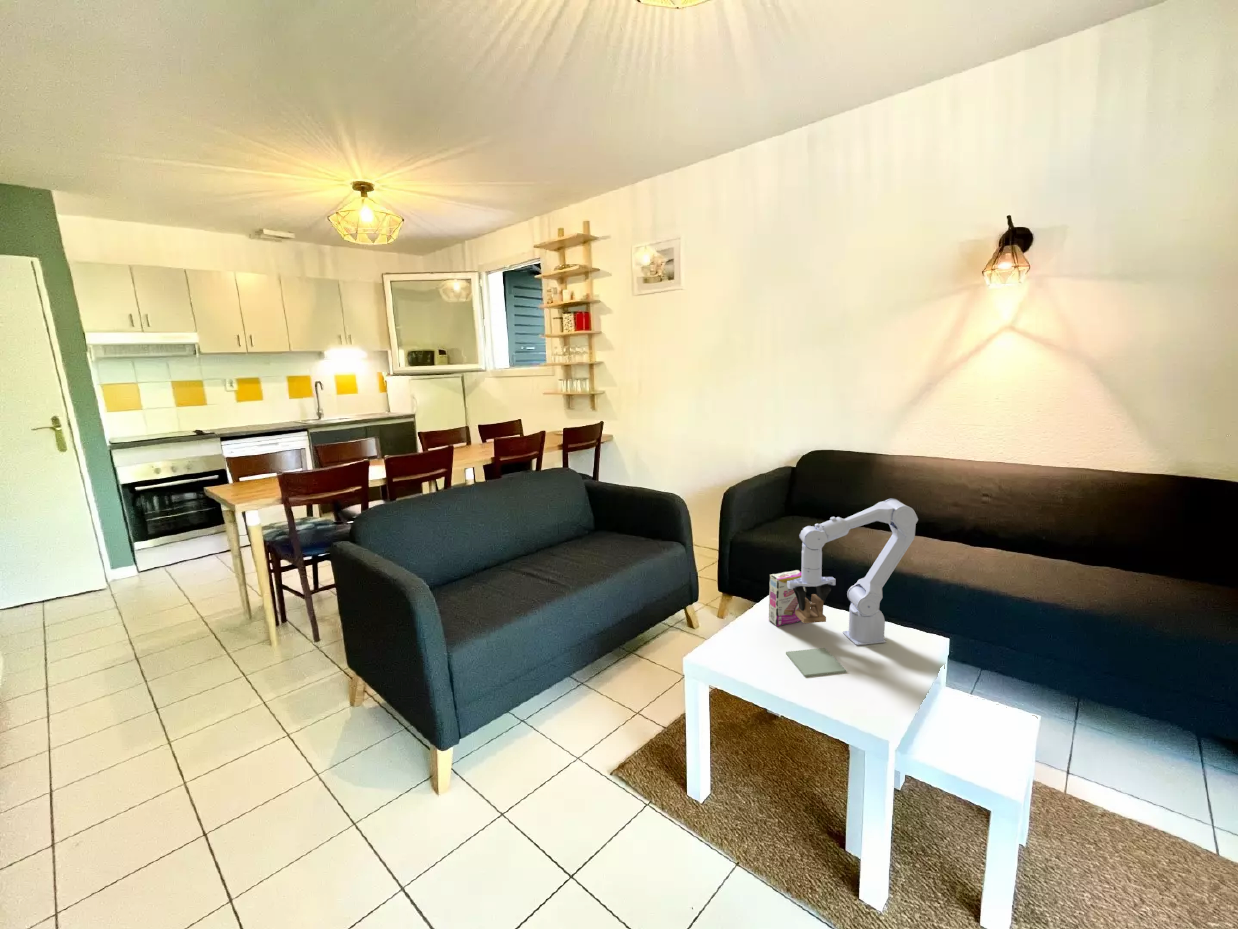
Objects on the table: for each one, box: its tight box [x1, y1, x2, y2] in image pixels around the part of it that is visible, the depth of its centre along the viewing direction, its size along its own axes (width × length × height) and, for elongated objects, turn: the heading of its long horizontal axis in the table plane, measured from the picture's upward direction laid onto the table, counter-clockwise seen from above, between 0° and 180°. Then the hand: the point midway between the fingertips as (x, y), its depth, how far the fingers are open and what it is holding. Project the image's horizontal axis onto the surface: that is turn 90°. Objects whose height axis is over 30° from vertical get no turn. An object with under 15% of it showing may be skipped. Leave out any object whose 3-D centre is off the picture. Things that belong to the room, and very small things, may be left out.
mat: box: [785, 647, 848, 678], centre depth 149 cm, size 12×12×1 cm
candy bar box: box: [768, 569, 807, 627], centre depth 172 cm, size 11×5×16 cm, turn 108°
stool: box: [795, 593, 827, 624], centre depth 160 cm, size 7×6×6 cm
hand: (810, 608), depth 160 cm, fingers closed on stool, 5 cm apart
